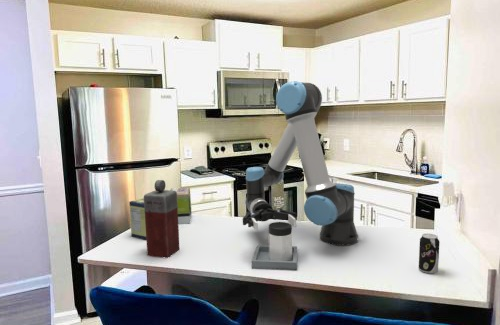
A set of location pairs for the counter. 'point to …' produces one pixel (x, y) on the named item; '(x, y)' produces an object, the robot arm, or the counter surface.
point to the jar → (280, 241)
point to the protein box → (137, 218)
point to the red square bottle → (161, 221)
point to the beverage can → (429, 253)
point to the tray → (264, 262)
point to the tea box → (183, 205)
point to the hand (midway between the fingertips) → (276, 224)
